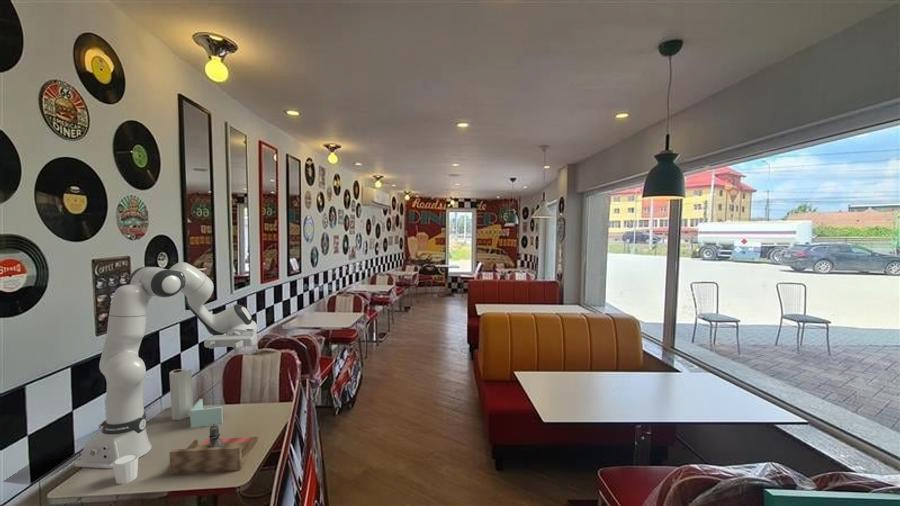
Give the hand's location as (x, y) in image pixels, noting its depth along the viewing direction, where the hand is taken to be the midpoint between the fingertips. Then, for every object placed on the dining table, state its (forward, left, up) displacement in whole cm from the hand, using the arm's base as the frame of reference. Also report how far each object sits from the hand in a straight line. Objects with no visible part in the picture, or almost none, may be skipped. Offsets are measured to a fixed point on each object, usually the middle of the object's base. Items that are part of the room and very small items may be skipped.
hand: (222, 346), depth 169 cm
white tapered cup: (-18, -33, -35) cm, 52 cm away
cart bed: (+7, -22, -35) cm, 42 cm away
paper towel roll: (-24, +11, -35) cm, 44 cm away
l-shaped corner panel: (-10, +8, -35) cm, 37 cm away
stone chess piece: (+6, -24, -34) cm, 42 cm away
